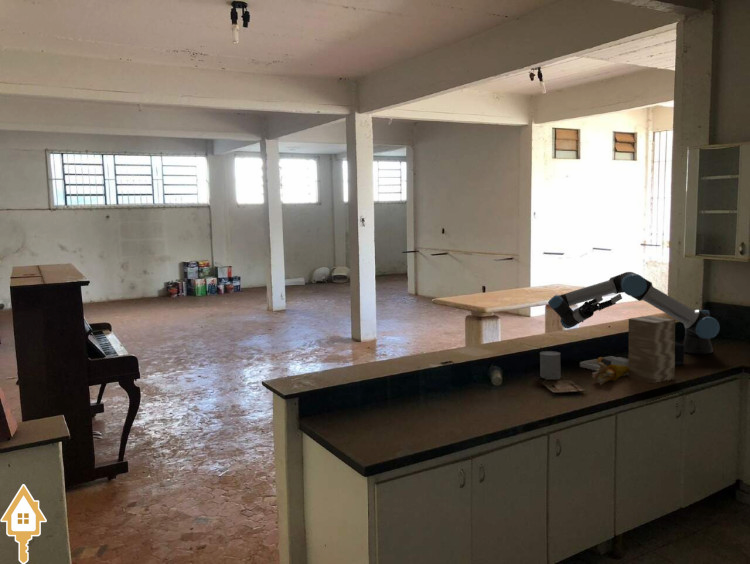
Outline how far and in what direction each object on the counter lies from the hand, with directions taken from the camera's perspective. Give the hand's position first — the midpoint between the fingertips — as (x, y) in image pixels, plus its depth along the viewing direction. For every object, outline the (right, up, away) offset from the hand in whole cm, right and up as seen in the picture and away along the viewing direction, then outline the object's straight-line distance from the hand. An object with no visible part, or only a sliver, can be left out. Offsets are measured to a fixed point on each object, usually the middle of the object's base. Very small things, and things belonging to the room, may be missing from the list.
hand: (611, 296), depth 306 cm
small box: (+33, -34, +2) cm, 47 cm away
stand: (+10, -38, -23) cm, 45 cm away
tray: (0, -36, -4) cm, 36 cm away
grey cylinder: (-36, -39, -16) cm, 56 cm away
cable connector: (0, -36, -3) cm, 36 cm away
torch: (-9, -39, -26) cm, 47 cm away
